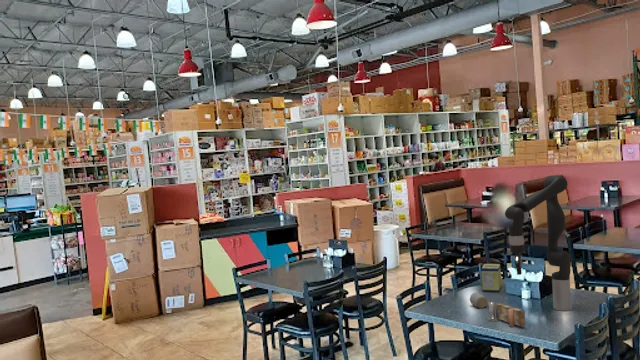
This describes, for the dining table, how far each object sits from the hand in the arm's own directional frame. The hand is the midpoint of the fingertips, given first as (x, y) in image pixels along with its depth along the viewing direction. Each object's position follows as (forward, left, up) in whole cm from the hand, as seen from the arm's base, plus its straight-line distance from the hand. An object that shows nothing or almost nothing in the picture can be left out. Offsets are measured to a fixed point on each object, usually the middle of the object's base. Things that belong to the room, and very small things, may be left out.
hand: (519, 274), depth 290 cm
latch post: (+8, +17, -23) cm, 30 cm away
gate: (+8, +12, -22) cm, 27 cm away
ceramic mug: (+20, -19, -24) cm, 36 cm away
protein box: (+9, -56, -24) cm, 62 cm away
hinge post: (+16, +6, -23) cm, 29 cm away
